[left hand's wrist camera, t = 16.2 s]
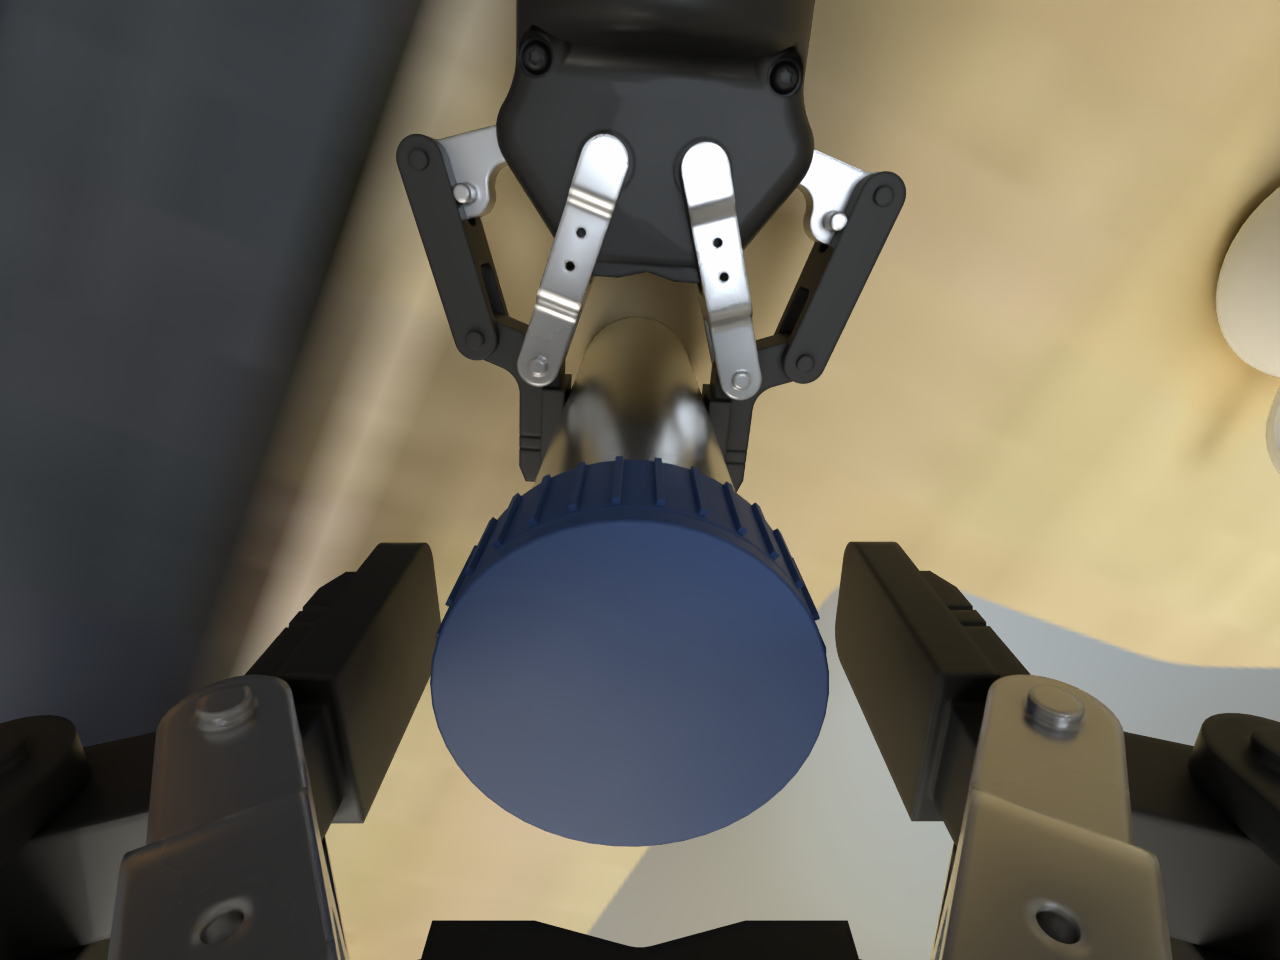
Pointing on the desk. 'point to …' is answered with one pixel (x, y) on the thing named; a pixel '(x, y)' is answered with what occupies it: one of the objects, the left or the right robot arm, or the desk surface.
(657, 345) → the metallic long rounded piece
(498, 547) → the lid
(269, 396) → the desk surface
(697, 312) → the desk surface
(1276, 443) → the mug
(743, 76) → the right robot arm
